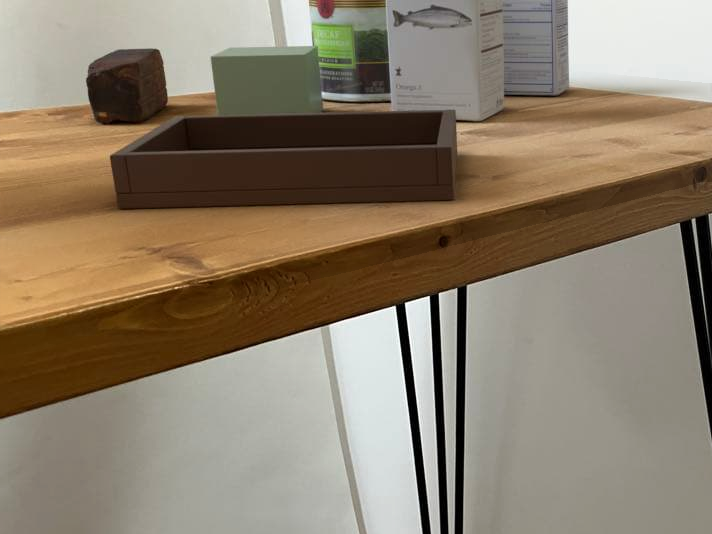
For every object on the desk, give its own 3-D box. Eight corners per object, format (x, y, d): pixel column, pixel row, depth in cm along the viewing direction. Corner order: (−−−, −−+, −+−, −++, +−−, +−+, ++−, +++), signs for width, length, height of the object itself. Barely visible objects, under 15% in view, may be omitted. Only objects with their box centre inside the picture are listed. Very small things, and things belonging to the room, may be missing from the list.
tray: (117, 209, 58) (108, 155, 57) (180, 160, 71) (174, 116, 70) (453, 200, 59) (451, 146, 58) (457, 153, 71) (455, 109, 70)
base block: (218, 125, 84) (210, 56, 82) (237, 111, 91) (229, 47, 89) (311, 122, 85) (305, 54, 83) (323, 109, 91) (317, 45, 89)
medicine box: (570, 90, 100) (569, -13, 96) (557, 97, 96) (556, -10, 92) (486, 89, 102) (483, -12, 98) (470, 95, 98) (466, -10, 94)
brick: (122, 106, 95) (113, 48, 93) (170, 104, 95) (162, 47, 93) (91, 126, 85) (80, 62, 83) (144, 124, 85) (135, 60, 83)
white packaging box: (389, 120, 85) (377, -59, 80) (421, 107, 91) (412, -60, 86) (482, 122, 83) (475, -60, 78) (508, 108, 90) (503, -61, 85)
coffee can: (374, 106, 92) (361, -79, 87) (291, 97, 98) (274, -76, 93) (456, 92, 100) (448, -79, 94) (374, 84, 106) (363, -77, 100)
